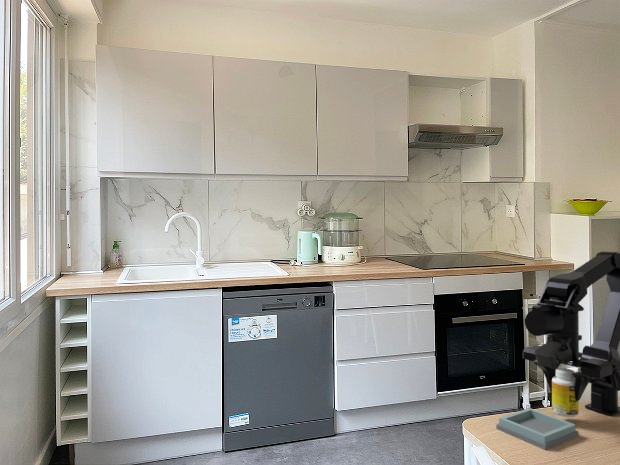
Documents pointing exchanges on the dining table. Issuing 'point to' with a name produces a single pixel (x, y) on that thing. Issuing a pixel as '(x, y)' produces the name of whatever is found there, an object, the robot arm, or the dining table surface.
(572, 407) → the supplement bottle
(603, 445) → the dining table surface
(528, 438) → the tray
